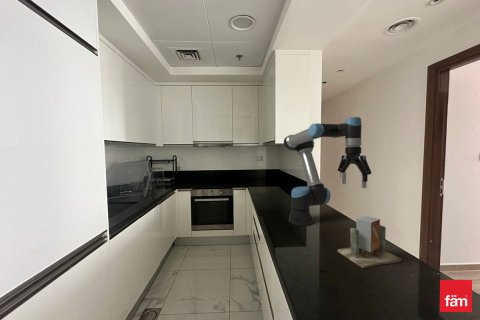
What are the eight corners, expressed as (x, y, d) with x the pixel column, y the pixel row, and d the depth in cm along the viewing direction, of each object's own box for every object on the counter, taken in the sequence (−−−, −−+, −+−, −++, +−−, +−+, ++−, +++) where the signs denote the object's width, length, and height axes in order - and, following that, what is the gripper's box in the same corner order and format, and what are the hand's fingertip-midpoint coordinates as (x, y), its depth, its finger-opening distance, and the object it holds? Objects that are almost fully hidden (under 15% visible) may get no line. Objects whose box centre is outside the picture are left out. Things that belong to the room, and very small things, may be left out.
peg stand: (337, 251, 92) (337, 224, 91) (372, 246, 96) (372, 220, 96) (362, 268, 78) (362, 236, 78) (401, 261, 83) (401, 231, 82)
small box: (371, 252, 82) (371, 222, 82) (355, 246, 88) (355, 218, 87) (380, 247, 86) (380, 219, 86) (365, 242, 92) (365, 215, 91)
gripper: (331, 147, 115) (331, 182, 116) (367, 145, 91) (367, 190, 92) (341, 147, 117) (341, 182, 118) (380, 145, 93) (380, 189, 93)
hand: (352, 185), depth 105 cm, fingers open, 13 cm apart
